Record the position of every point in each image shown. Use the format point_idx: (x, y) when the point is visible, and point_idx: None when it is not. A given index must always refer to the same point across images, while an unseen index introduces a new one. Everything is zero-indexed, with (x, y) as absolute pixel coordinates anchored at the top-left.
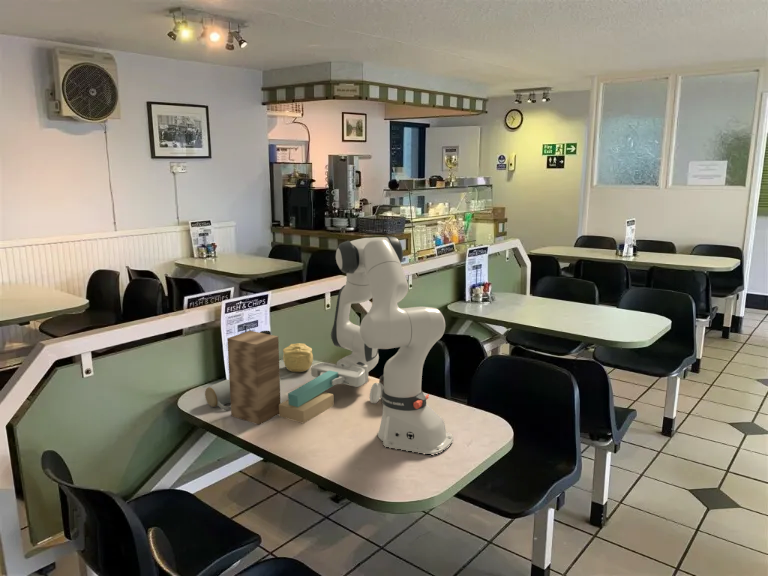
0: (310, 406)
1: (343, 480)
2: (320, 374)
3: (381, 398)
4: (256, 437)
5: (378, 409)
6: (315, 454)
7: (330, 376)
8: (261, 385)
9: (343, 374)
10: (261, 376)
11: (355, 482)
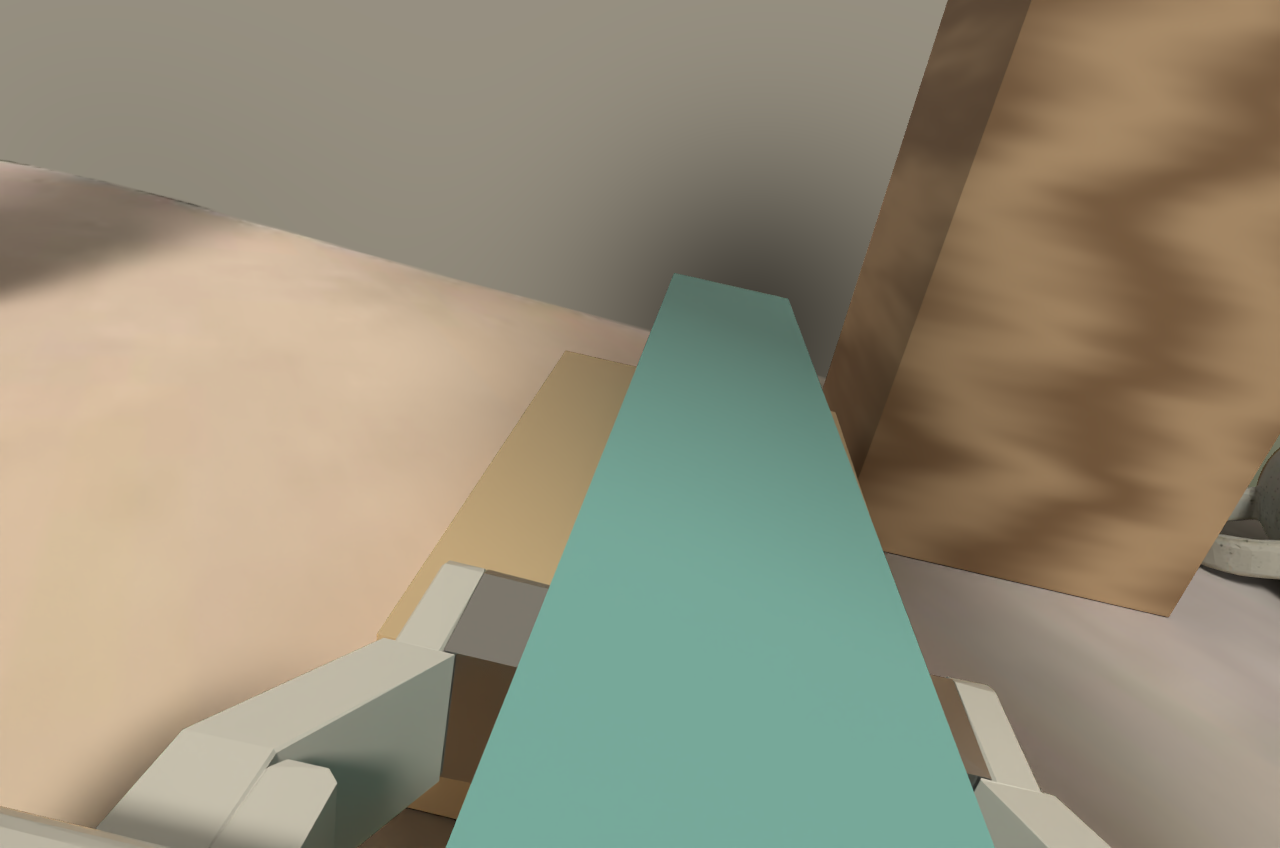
0: (552, 391)
1: (176, 209)
2: (1102, 845)
3: None
4: None
5: None
6: (339, 283)
7: (584, 552)
8: (904, 163)
9: (47, 842)
10: (930, 84)
11: (120, 200)
